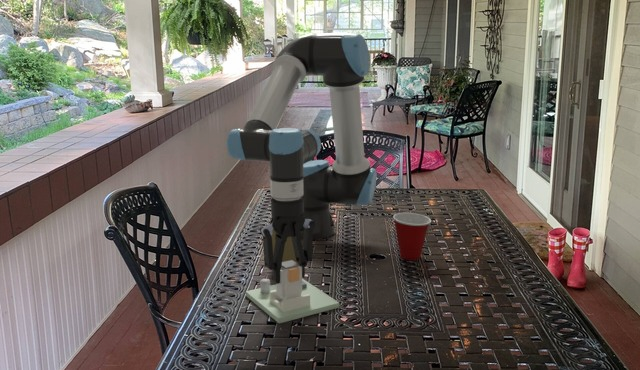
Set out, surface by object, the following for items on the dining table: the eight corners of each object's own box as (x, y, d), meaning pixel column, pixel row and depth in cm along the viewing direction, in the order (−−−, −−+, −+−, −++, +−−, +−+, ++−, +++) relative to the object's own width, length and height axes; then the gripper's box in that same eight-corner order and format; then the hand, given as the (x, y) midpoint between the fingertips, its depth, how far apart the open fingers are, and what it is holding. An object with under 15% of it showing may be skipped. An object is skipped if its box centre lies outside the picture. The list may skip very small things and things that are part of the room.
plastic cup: (429, 264, 179) (430, 223, 176) (390, 262, 181) (391, 221, 178) (430, 251, 189) (432, 212, 186) (394, 249, 191) (394, 210, 188)
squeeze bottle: (303, 267, 178) (302, 204, 173) (292, 277, 170) (291, 212, 166) (276, 263, 180) (274, 202, 176) (264, 274, 173) (262, 210, 169)
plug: (278, 296, 152) (277, 262, 150) (293, 292, 154) (292, 259, 152) (287, 303, 148) (286, 269, 146) (302, 299, 150) (302, 265, 148)
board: (245, 295, 159) (245, 280, 158) (302, 282, 167) (301, 267, 166) (278, 323, 144) (278, 306, 143) (339, 307, 152) (339, 290, 151)
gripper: (260, 206, 138) (263, 306, 144) (328, 195, 147) (328, 290, 152) (246, 198, 144) (249, 295, 150) (311, 188, 153) (312, 280, 158)
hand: (289, 292), depth 151 cm, fingers closed on plug, 4 cm apart
